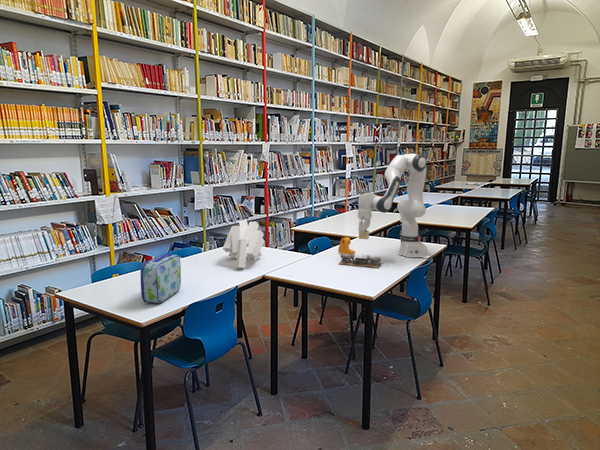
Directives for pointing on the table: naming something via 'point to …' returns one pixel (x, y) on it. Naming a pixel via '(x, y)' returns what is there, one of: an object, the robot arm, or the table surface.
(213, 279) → the table surface
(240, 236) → the pile of blocks
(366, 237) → the coupler
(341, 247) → the orange toy figure
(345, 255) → the shaft bench
